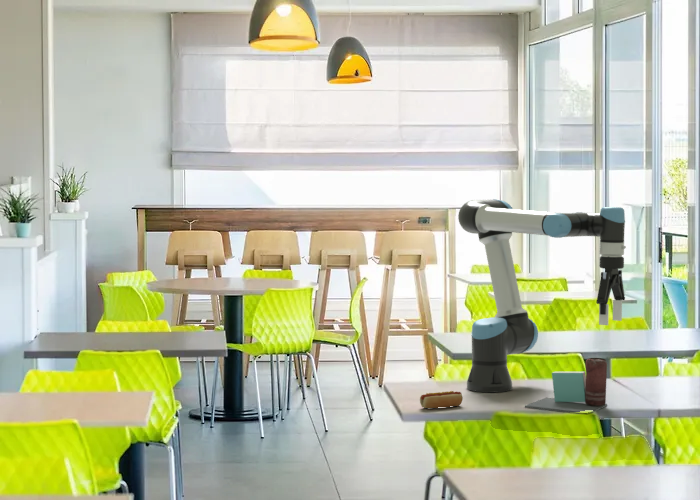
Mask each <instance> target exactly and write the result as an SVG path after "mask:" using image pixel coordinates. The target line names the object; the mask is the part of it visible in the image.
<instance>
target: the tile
mask: <svg viewBox="0 0 700 500" xmlns="http://www.w3.org/2000/svg"><path fill="white" fill-rule="evenodd" d="M551 377H552V387H553V396H554V397H553V398H554V399H555V402H585V390H586V371H553V372H551Z"/></svg>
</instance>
